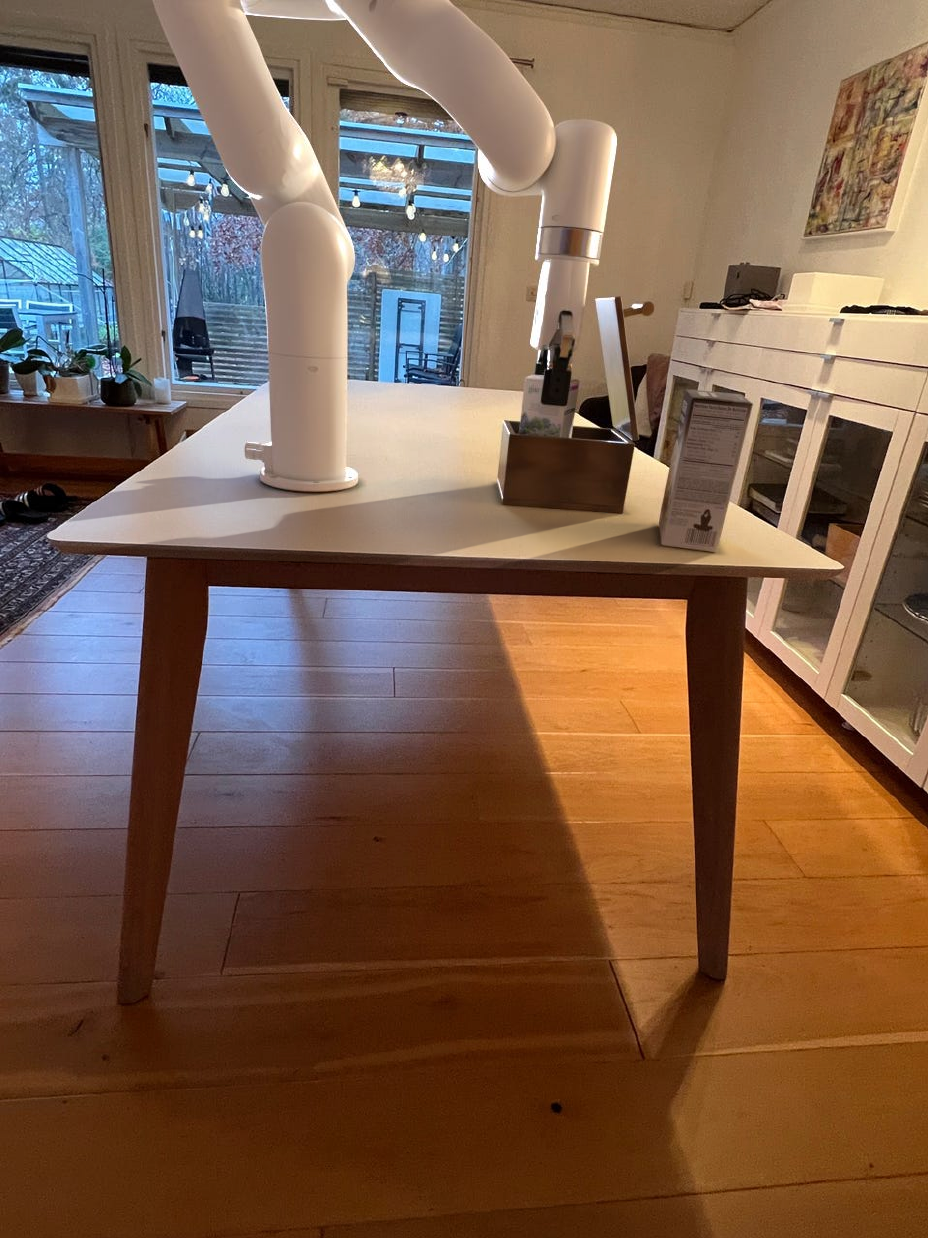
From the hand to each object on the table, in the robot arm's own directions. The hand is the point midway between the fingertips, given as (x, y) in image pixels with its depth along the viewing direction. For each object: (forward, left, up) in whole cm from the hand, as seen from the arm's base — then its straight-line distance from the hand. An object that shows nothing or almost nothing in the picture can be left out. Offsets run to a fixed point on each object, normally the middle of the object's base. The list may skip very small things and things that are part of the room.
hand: (548, 400), depth 88 cm
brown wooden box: (+3, +1, -13) cm, 13 cm away
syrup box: (0, 0, -12) cm, 12 cm away
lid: (+8, +2, +4) cm, 9 cm away
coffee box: (+19, -11, -13) cm, 25 cm away
